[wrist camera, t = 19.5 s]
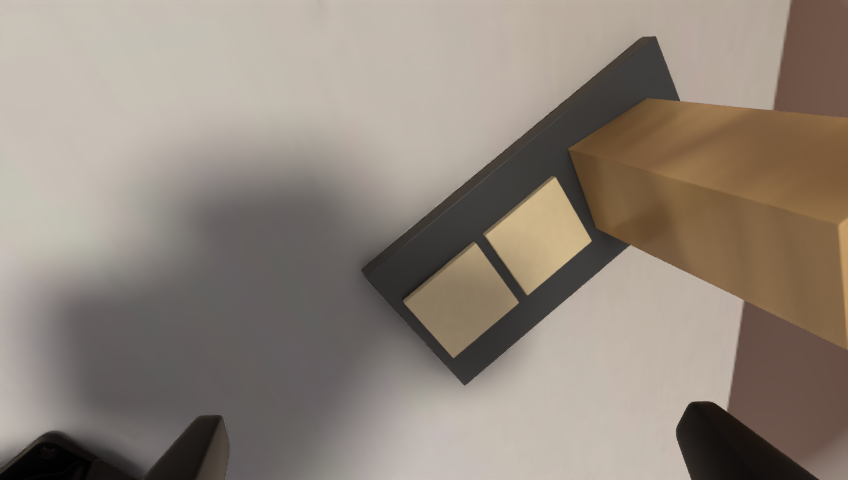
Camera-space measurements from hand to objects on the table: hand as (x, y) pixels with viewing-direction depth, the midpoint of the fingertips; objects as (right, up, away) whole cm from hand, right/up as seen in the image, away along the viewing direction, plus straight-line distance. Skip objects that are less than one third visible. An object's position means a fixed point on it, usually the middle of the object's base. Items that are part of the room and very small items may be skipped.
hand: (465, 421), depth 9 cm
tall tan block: (+8, +7, +13) cm, 17 cm away
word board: (+5, +5, +14) cm, 15 cm away
